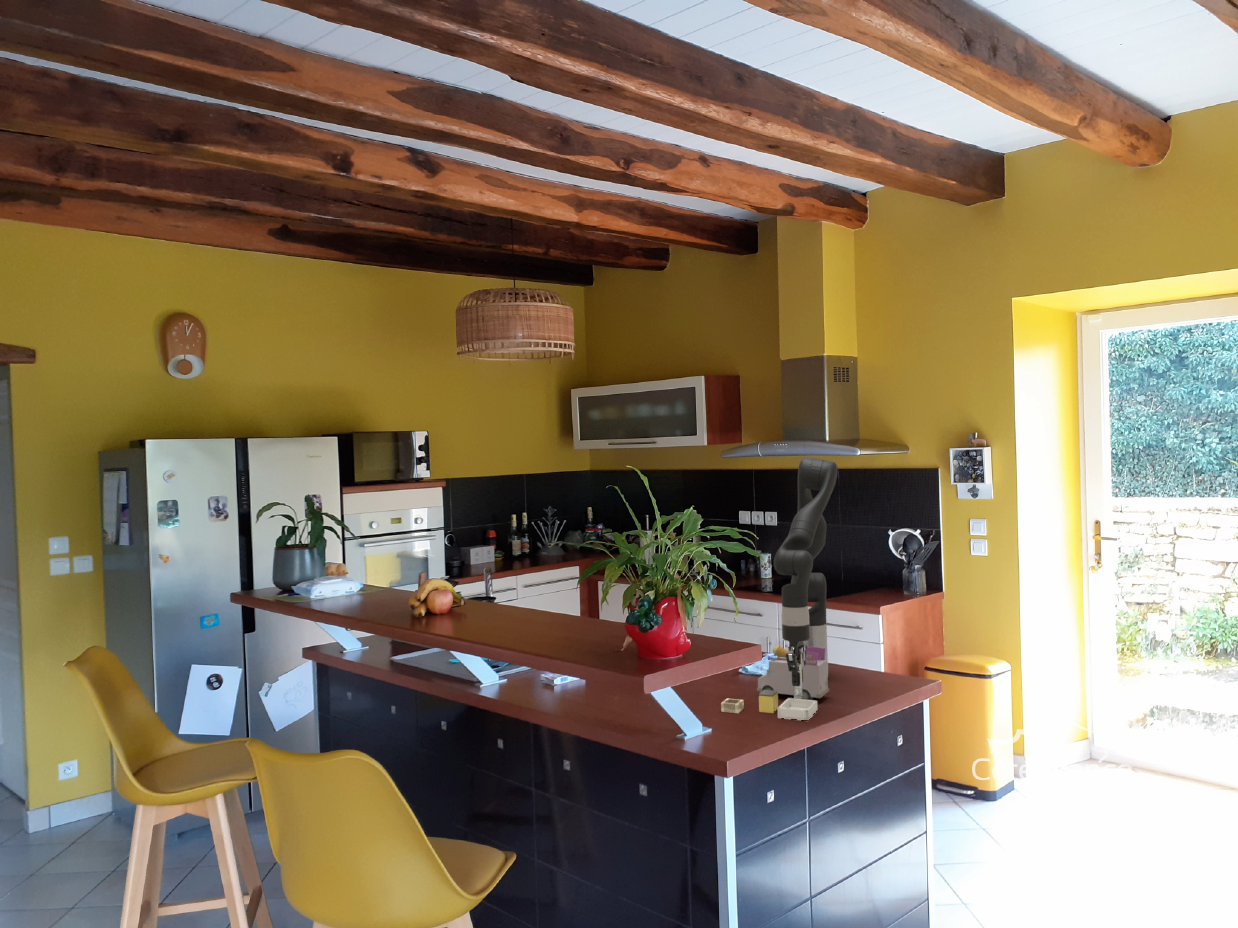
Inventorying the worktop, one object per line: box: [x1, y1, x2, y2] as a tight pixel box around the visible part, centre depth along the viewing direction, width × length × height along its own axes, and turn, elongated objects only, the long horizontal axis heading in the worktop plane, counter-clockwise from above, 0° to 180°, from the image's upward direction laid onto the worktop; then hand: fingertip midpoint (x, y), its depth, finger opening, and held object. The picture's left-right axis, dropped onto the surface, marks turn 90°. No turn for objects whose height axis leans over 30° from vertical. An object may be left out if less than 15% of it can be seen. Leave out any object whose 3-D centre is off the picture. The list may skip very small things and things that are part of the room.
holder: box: [720, 698, 745, 714], centre depth 263 cm, size 5×5×2 cm
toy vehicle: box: [756, 645, 830, 700], centre depth 274 cm, size 9×20×15 cm, turn 59°
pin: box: [793, 658, 803, 699], centre depth 257 cm, size 3×3×11 cm
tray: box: [777, 697, 819, 721], centre depth 257 cm, size 10×8×3 cm
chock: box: [758, 690, 779, 714], centre depth 262 cm, size 5×4×5 cm
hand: (797, 684), depth 257 cm, fingers closed on pin, 2 cm apart
